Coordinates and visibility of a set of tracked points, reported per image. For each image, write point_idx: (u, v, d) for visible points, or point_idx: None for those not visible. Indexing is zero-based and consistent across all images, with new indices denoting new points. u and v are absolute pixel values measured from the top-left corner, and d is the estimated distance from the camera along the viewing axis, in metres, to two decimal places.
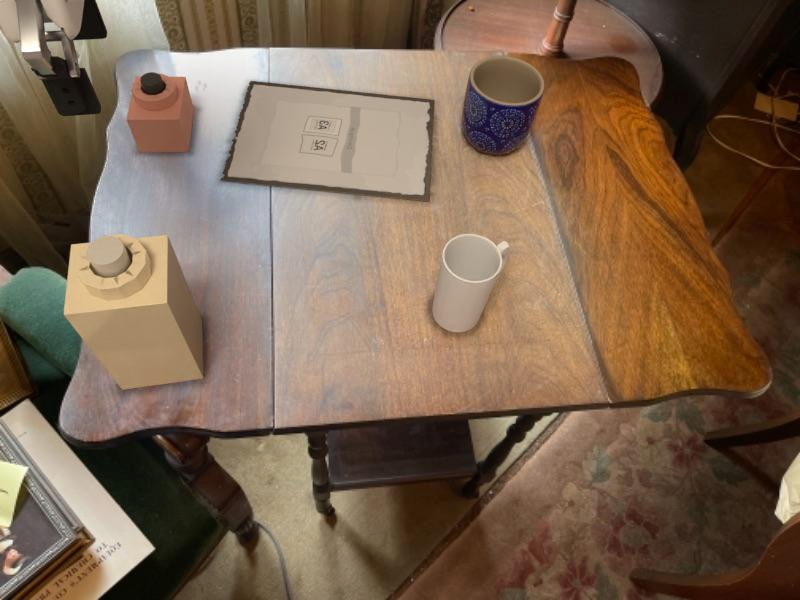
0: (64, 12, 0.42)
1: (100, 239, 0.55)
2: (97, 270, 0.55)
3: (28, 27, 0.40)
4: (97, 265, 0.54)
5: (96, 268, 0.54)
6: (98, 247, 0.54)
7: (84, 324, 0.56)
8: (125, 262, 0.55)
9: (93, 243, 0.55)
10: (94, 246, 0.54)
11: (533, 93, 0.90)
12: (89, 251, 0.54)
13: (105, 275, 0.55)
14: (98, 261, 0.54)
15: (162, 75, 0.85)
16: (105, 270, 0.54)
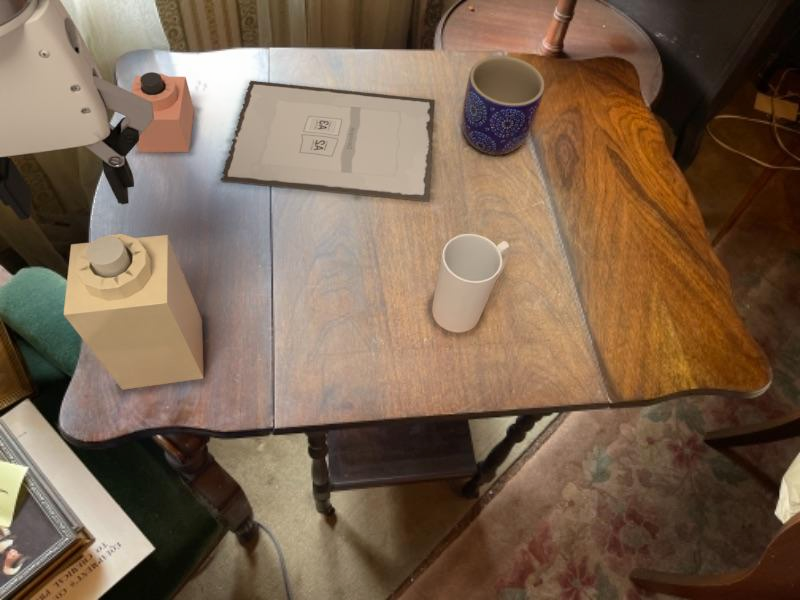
0: None
1: (100, 239, 0.55)
2: (97, 270, 0.55)
3: None
4: (97, 265, 0.54)
5: (96, 268, 0.54)
6: (98, 247, 0.54)
7: (84, 324, 0.56)
8: (125, 262, 0.55)
9: (93, 243, 0.55)
10: (94, 246, 0.54)
11: (533, 93, 0.90)
12: (89, 251, 0.54)
13: (105, 275, 0.55)
14: (98, 261, 0.54)
15: (162, 75, 0.85)
16: (105, 270, 0.54)
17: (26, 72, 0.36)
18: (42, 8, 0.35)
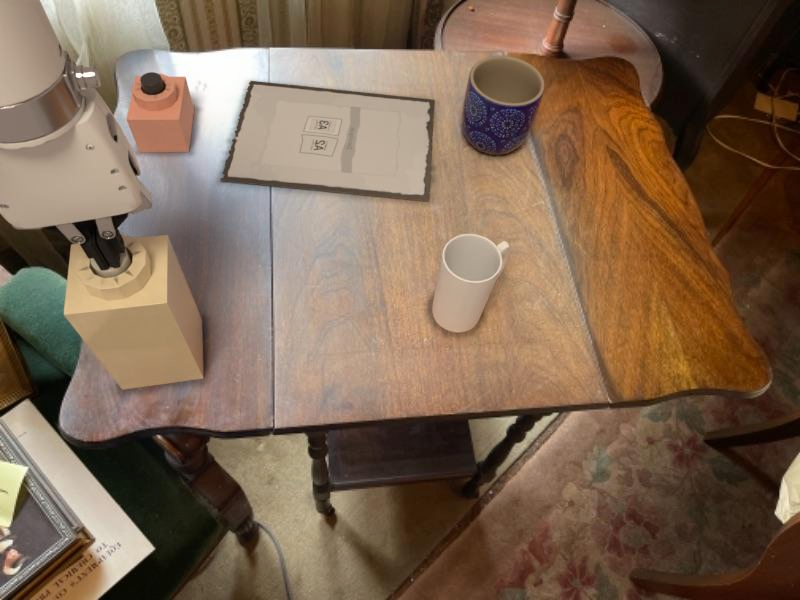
0: None
1: None
2: None
3: None
4: (101, 272, 0.55)
5: (100, 275, 0.55)
6: None
7: (84, 324, 0.56)
8: None
9: None
10: None
11: (533, 93, 0.90)
12: (93, 258, 0.55)
13: None
14: None
15: (162, 75, 0.85)
16: (109, 276, 0.55)
17: (74, 162, 0.43)
18: (89, 110, 0.41)
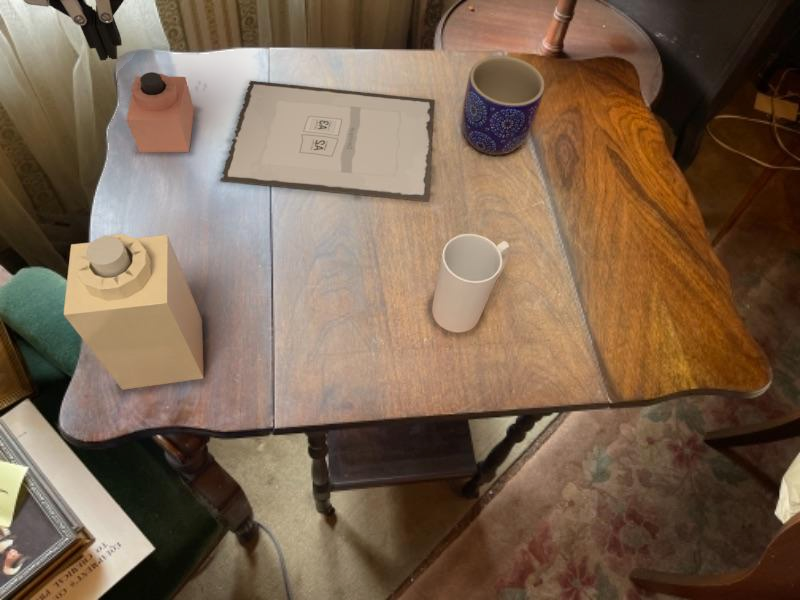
0: None
1: (100, 239, 0.55)
2: (97, 270, 0.55)
3: None
4: (97, 265, 0.54)
5: (96, 268, 0.54)
6: (98, 247, 0.54)
7: (84, 324, 0.56)
8: (125, 262, 0.55)
9: (93, 243, 0.55)
10: (94, 246, 0.54)
11: (533, 93, 0.90)
12: (89, 251, 0.54)
13: (105, 275, 0.55)
14: (98, 261, 0.54)
15: (162, 75, 0.85)
16: (105, 270, 0.54)
17: None
18: None
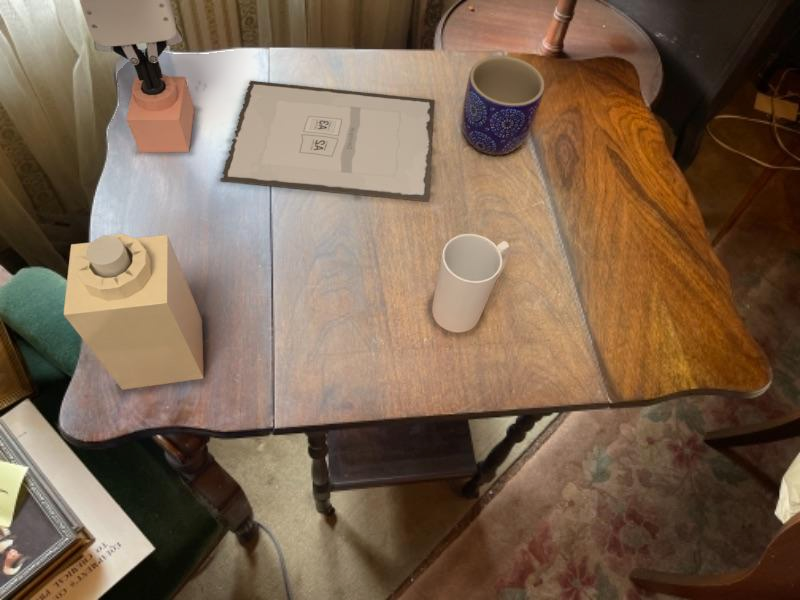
0: (90, 30, 0.73)
1: (100, 239, 0.55)
2: (97, 270, 0.55)
3: None
4: (97, 265, 0.54)
5: (96, 268, 0.54)
6: (98, 247, 0.54)
7: (84, 324, 0.56)
8: (125, 262, 0.55)
9: (93, 243, 0.55)
10: (94, 246, 0.54)
11: (533, 93, 0.90)
12: (89, 251, 0.54)
13: (105, 275, 0.55)
14: (98, 261, 0.54)
15: (162, 75, 0.85)
16: (105, 270, 0.54)
17: None
18: None
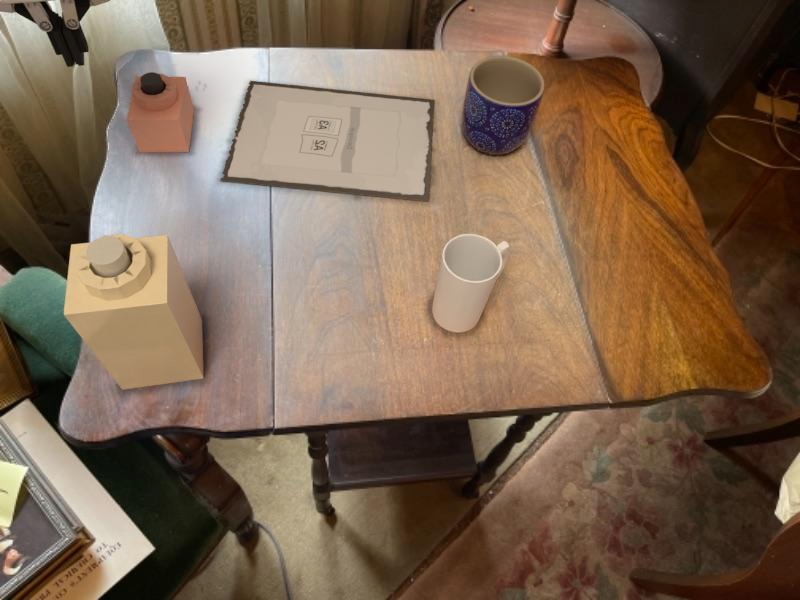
0: None
1: (100, 239, 0.55)
2: (97, 270, 0.55)
3: None
4: (97, 265, 0.54)
5: (96, 268, 0.54)
6: (98, 247, 0.54)
7: (84, 324, 0.56)
8: (125, 262, 0.55)
9: (93, 243, 0.55)
10: (94, 246, 0.54)
11: (533, 93, 0.90)
12: (89, 251, 0.54)
13: (105, 275, 0.55)
14: (98, 261, 0.54)
15: (162, 75, 0.85)
16: (105, 270, 0.54)
17: None
18: None
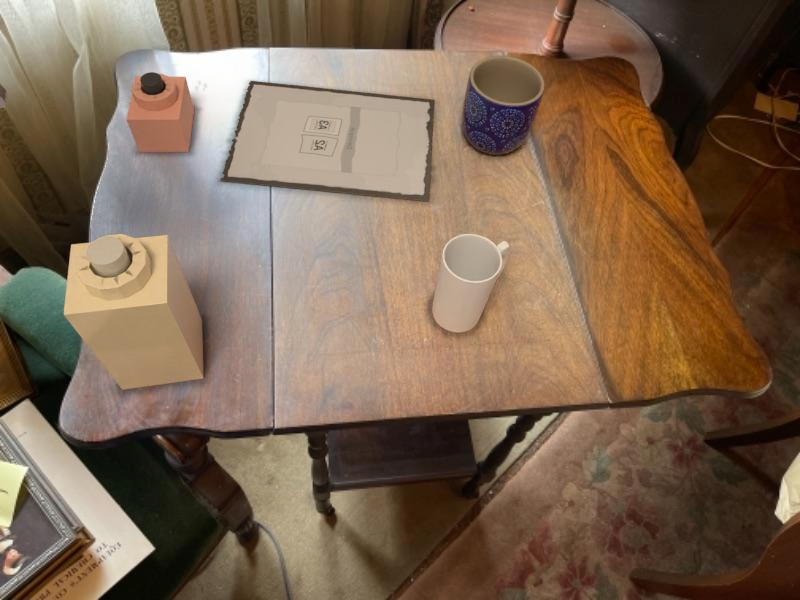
0: None
1: (100, 239, 0.55)
2: (97, 270, 0.55)
3: None
4: (97, 265, 0.54)
5: (96, 268, 0.54)
6: (98, 247, 0.54)
7: (84, 324, 0.56)
8: (125, 262, 0.55)
9: (93, 243, 0.55)
10: (94, 246, 0.54)
11: (533, 93, 0.90)
12: (89, 251, 0.54)
13: (105, 275, 0.55)
14: (98, 261, 0.54)
15: (162, 75, 0.85)
16: (105, 270, 0.54)
17: None
18: None
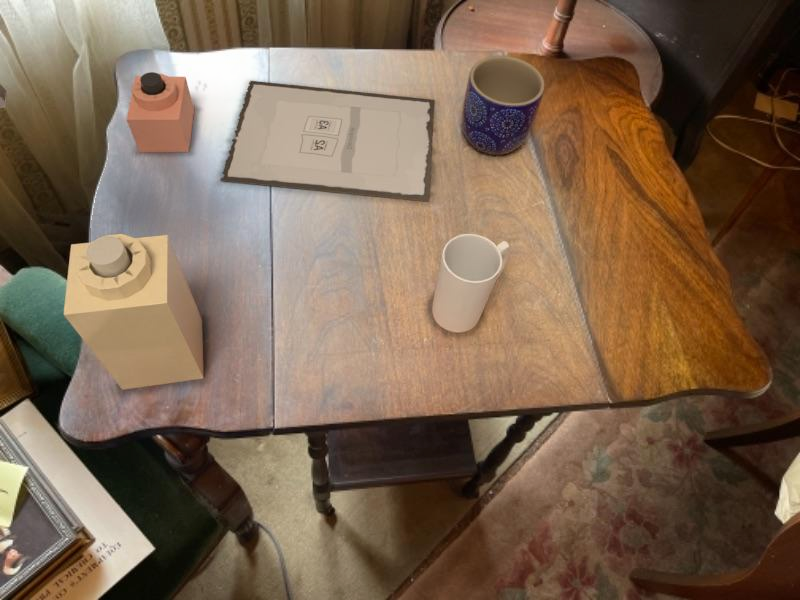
0: None
1: (100, 239, 0.55)
2: (97, 270, 0.55)
3: None
4: (97, 265, 0.54)
5: (96, 268, 0.54)
6: (98, 247, 0.54)
7: (84, 324, 0.56)
8: (125, 262, 0.55)
9: (93, 243, 0.55)
10: (94, 246, 0.54)
11: (533, 93, 0.90)
12: (89, 251, 0.54)
13: (105, 275, 0.55)
14: (98, 261, 0.54)
15: (162, 75, 0.85)
16: (105, 270, 0.54)
17: None
18: None
